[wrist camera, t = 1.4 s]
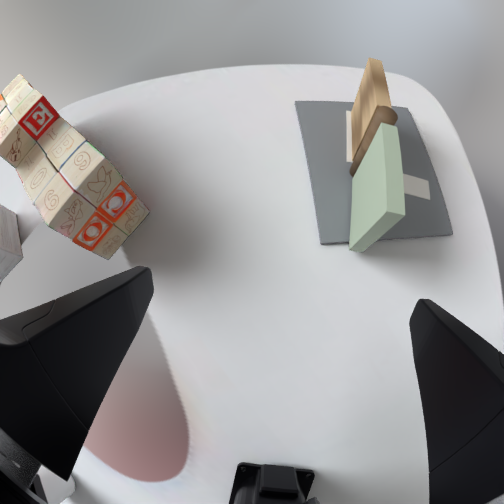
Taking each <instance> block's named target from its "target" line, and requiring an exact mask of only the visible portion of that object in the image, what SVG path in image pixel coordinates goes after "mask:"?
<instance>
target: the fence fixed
mask: <svg viewBox="0 0 504 504" xmlns="http://www.w3.org/2000/svg"><path fill="white" fill-rule="evenodd" d="M397 120H398V115H397V113H396V112H395V111H394V110H393V109H392V107H391V102H390V97H389V92H388V87H387V82H386V78H385V73H384V69H383V65H382V62H381V61H380V60H376V59H372V58H369V59H368V62H367V65H366V68H365V71H364V75H363V78H362V81H361V84H360V87H359V90H358V93H357V96H356V99H355V102H354V105H353V108H352V111H351V129H352V161H353V163H352V165H351V167H350V170H349V172H350V175H351V176H352V177H354V175H355V173H356V171H357V169H358V167H359V166H360V164H361V162H362V160H363V158H364V156H365V154H366V152H367V150H368V148H369V146H370V144H371V142H372V140H373V138H374V136H375V134H376V132H377V130H378V128H379V126H380V124H381V122H382V123H385V124H389V125H392V126H394V125H395V123H396V121H397Z"/></svg>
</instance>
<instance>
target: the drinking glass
mask: <svg viewBox="0 0 504 504" xmlns="http://www.w3.org/2000/svg"><path fill="white" fill-rule="evenodd" d="M37 474H38V475H39V476H40V479H41V483H42V486H43V489H44V492H45V495H46V498H47V501H48V504H60V503H61V502H63V501H64V500H65V499H66V498H68V497H69V496H71V495H72V494H73V493H74V491H75V482H74V479H73V477H72V475H70V478H69V480H68V481H67V482H66V481H65V480H63V479H62V478H60V477H58V476H57V475H55V474H54V473H52V472H51V471H49V470H48V469H46V468H45V467H44V466H42V465H41V467H40V469H39V471H38V473H37Z"/></svg>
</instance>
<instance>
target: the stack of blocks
mask: <svg viewBox="0 0 504 504" xmlns="http://www.w3.org/2000/svg"><path fill="white" fill-rule="evenodd" d="M0 156H1V157H2V158H3V159H5V160H6V161H7V162H8V163H9V164H11V165H12V166H13V167H14V168H16V171H17V173H18V175H19V177H20V179H21V181H22V183H23V187H24V189H25V190H26V192H27V194H28V196H29V198H30V200H31V202H32V203H33V205H34V206H36V208H37V210H38V211H39V213H40V215H41V217H42V218H43V220H44V221H45V223H46V225H47V226H49V227H50V228H52V229H53V230H55V231H57V232H59V233H61V234H62V235H64V236H66V237H68V238H70V239H71V241H72V242H74V243H75V244H77V245H79V246H81V247H83V248H85V249H87V250H89V251H92V252H93V253H95V254H97V255H99V256H101V257H103V258H105V259H107V260H109V259H110V258H111V257H112V255H113V254H114V253H115V252H116V251H117V250H118V248H119V247H120V246H121V245H122V243H123V242H124V241H125V240H126V239H127V237H128V236H129V235H131V233H132V232H133V231H134V230H135V229H136V228H137V226H138V225H139V224H140V223H141V222H142V221H143V220H144V218H145V217H146V216H147V215H148V213H149V212H150V211H149V210H148V208H147V207H146V206H145V205H144V204H143V203H142V202H141V201H140V200H139V199H138V198H137V195H136V194H135V193H134V192H133V191H132V190H131V188H130V187H129V186H128V185H127V184H126V183H125V182H124V181H123V179H122V176H121V175H120V174H119V172H118V171H117V170H116V169H115V168H114V167H113V165H112V164H111V163H110V162H109V161H108V159H107V158H106V157H105V156H104V155H103V154H101V153H100V152H99V151H98V150H97V149H96V148H95V147H94V146H92V145H91V144H90V143H89V142H88V141H87V140H86V139H85V138H84V137H83V136H82V135H81V134H80V133H79V132H77V131H76V130H75V129H74V128H73V127H72V126H71V125H70V124H69V123H68V122H66V121H65V120H64V119H63V118H62V117H60V115H59V114H58V113H57V111H56V110H55V109H54V108H53V107H52V105H51V104H50V103H49V102H48V101H47V99H46V98H45V97H44V96H43V95H42V94H41V93H40V92H38V91H37V90H36V89H34V88H33V87H32V86H31V85H30V83H29V82H28V81H27V80H25V78H24V77H23V76H22V75H21V74H19V75H18V76H17V77H16V78H15V79H14V80H13V81H12V82H11V83H10V84H9V85H8V86H7V87H6V88H5V89H4V90H3V92H2V94H0Z"/></svg>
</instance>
